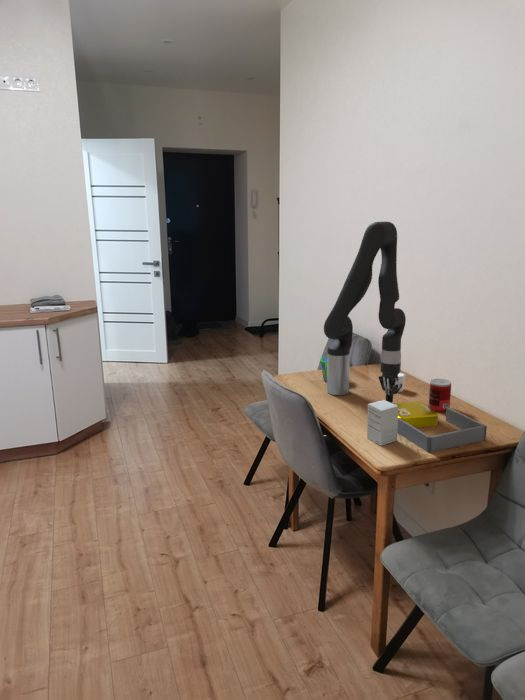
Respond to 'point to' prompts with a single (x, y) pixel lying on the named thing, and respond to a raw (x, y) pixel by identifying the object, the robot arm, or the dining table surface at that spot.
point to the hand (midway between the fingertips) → (389, 402)
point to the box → (467, 435)
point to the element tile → (417, 414)
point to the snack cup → (324, 367)
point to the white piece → (401, 380)
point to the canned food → (439, 395)
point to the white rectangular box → (382, 422)
